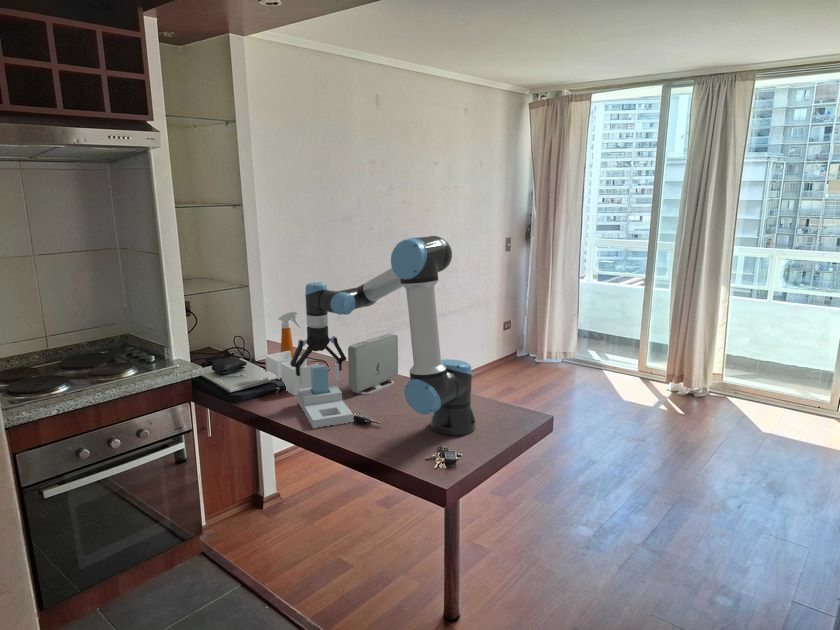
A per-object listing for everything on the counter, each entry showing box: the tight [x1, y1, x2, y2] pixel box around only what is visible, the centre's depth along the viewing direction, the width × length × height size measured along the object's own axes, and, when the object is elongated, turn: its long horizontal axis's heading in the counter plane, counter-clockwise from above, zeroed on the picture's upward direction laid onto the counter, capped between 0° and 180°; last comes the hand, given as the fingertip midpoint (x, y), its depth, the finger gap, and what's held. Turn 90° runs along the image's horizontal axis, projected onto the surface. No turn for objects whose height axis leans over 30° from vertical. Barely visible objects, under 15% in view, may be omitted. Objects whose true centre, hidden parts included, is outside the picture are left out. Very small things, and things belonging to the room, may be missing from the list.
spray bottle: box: [278, 310, 303, 358], centre depth 251 cm, size 7×11×26 cm, turn 86°
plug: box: [310, 364, 329, 395], centre depth 208 cm, size 6×5×12 cm
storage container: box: [265, 351, 320, 396], centre depth 231 cm, size 25×11×11 cm, turn 40°
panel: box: [297, 383, 354, 429], centre depth 202 cm, size 24×14×6 cm, turn 23°
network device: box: [347, 333, 399, 396], centre depth 227 cm, size 26×9×20 cm, turn 143°
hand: (319, 381), depth 207 cm, fingers open, 13 cm apart
